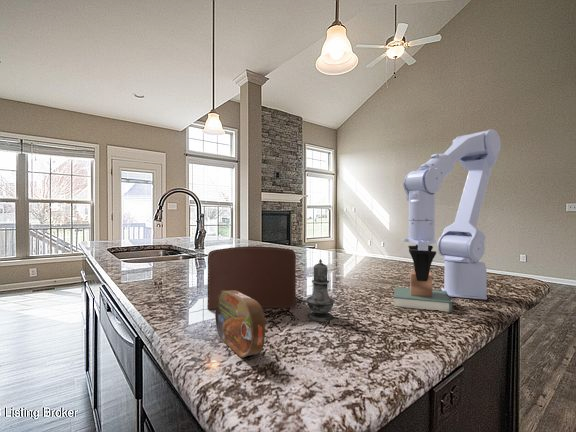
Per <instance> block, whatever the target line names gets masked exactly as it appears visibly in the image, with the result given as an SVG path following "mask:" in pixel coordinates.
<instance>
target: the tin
mask: <svg viewBox="0 0 576 432" xmlns="http://www.w3.org/2000/svg"><path fill="white" fill-rule="evenodd" d="M214 314H215V317H214V319H215V326H216V332H217V334H218V336H219V338H220V341H222V342H224V344H225V345H227V346H228V347H229V348H230V349H231V350H232V351H233V353H235V354H236V355H237V356H238V357H240V358H245V357H249V356H253V355H256V354H259V353H260V352H262V350H263V349H264V346H265V339H266V323H267V322H266V317H265V313H264V308H262V307H261V305H260V304H259V303H258V302H257V301H256V300H254V299H252V298H250V297H248V296H246V295H244V294H242V293H240V292H238V291H235V290H232V291H221V292H220V293H219V295H218V297H217V301H216V308H215V313H214Z"/></svg>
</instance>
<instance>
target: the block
mask: <svg viewBox="0 0 576 432" xmlns="http://www.w3.org/2000/svg"><path fill="white" fill-rule="evenodd" d="M409 285H410V287H409V288H410V291H411V295H414V296H425V297H432V290H433V274H432V273H431V271H429V276H428V280H427V281H417V278H416V273H415V270H410V284H409Z"/></svg>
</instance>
